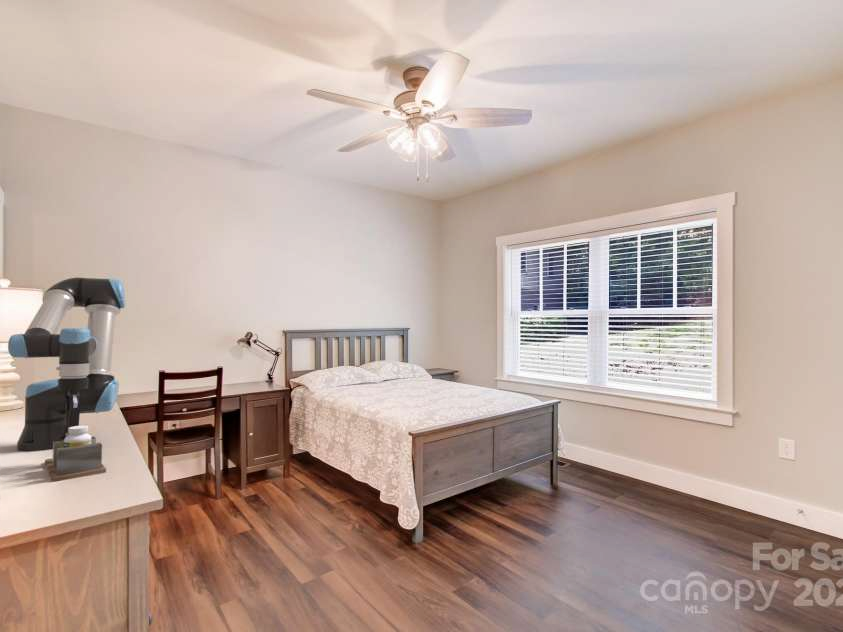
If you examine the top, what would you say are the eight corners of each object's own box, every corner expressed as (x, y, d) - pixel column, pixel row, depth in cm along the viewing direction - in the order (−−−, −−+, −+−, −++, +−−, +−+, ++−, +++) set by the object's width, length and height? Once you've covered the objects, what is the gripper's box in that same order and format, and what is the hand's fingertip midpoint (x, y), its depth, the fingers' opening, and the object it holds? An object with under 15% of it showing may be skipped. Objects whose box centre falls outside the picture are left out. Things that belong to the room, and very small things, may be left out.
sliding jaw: (50, 462, 135) (51, 439, 135) (91, 456, 142) (92, 434, 142) (53, 467, 130) (54, 443, 130) (95, 461, 137) (95, 438, 137)
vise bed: (44, 462, 138) (45, 436, 138) (92, 455, 146) (93, 430, 147) (52, 481, 121) (53, 452, 121) (106, 472, 129) (106, 444, 129)
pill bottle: (57, 468, 129) (59, 428, 130) (82, 462, 135) (83, 424, 136) (71, 471, 127) (72, 430, 127) (95, 465, 133) (96, 425, 133)
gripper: (56, 376, 142) (53, 450, 141) (60, 379, 132) (57, 459, 131) (85, 374, 147) (83, 446, 146) (91, 377, 138) (89, 454, 137)
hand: (71, 452), depth 139 cm, fingers closed
